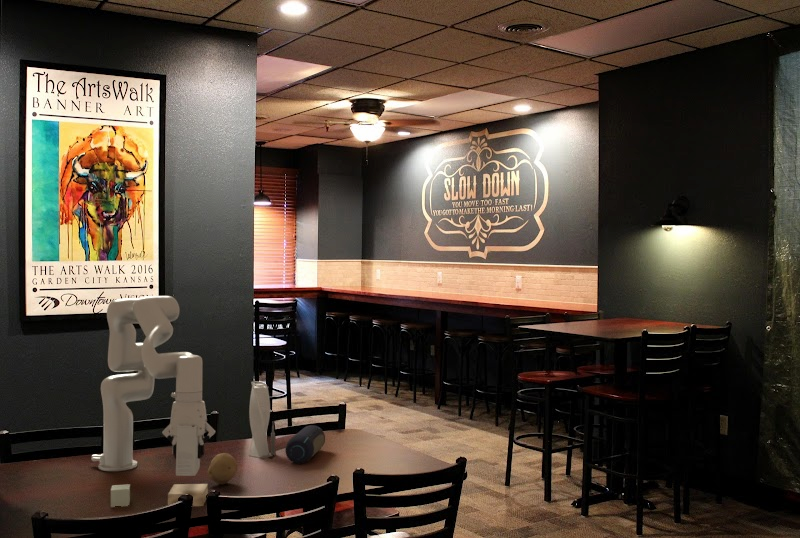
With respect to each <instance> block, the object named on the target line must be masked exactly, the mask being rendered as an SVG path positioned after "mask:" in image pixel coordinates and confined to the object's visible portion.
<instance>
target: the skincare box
mask: <svg viewBox="0 0 800 538" xmlns="http://www.w3.org/2000/svg"><path fill="white" fill-rule="evenodd" d="M198 445H199V441H198V437H197V426H193V425H178V426H177V447H176V459H175V476H179V477H182V476H183V477H187V476H188V477H191V476H192V477H193V476H196V475H197V473H198V472H199V470H200V466H201V464H200V463H201V458H200V459H198Z"/></svg>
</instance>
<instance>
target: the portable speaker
mask: <svg viewBox="0 0 800 538" xmlns="http://www.w3.org/2000/svg"><path fill="white" fill-rule="evenodd" d="M325 443H326V435H325V432H324V430H323V429H322V428H321V427H319V426H318V425H314V424H313V425H312V424H309V425H306V426H305V427H303V428H302V429H301V430H299V431H298V432H297V433H296V434H295V435H293V436H292V437H291V438H290V439H289V440H288V441H287V443H286V446H285V455H286V457H287V459H288V460H289V461H290V462H292V463H294V464H299V465H300V464H304V463H305V464H306V463H307V462H308V461H310V460H311V459H312V458H313V457H314V456H315V455H316V454H317V453H318V452H319V451H320V450H321V449H322V447H323V446H324V445H325Z"/></svg>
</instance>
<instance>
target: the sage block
mask: <svg viewBox="0 0 800 538" xmlns="http://www.w3.org/2000/svg"><path fill="white" fill-rule="evenodd" d="M130 503H131V484H128V483H127V484H115V485H113V484H112V485H111V488H110V508H116V507H115V506H121V507H129V506H130ZM128 505H129V506H128Z"/></svg>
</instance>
